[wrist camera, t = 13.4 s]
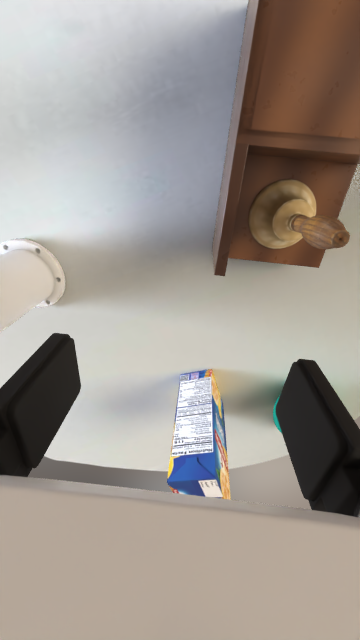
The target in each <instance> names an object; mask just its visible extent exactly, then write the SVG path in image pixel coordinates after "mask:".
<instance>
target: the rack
mask: <svg viewBox="0 0 360 640" xmlns="http://www.w3.org/2000/svg"><path fill="white" fill-rule="evenodd" d="M357 164H360V0H249V2H248V6H247V13H246V20H245V27H244V34H243V40H242V47H241V54H240V61H239V68H238V74H237V81H236V88H235V95H234V102H233V108H232V115H231V122H230V129H229V136H228V143H227V149H226V156H225V163H224V170H223V177H222V183H221V190H220V197H219V204H218V211H217V217H216V224H215V231H214V238H213V245H212V253H213V264H214V275H220V276H225V272H226V267H227V261H228V258H234V259H243V260H252V261H261V262H271V263H280V264H289V265H298V266H307V267H317V268H319V266H320V263H321V261H322V258H323V255H324V253H325V250H326V249H318V248H315V247H313V246H311V245H310V244H308V243H307V242H306V241H305V240H304V238H302V239H301V240H299V241H298V242H297V243H295V244H293V245H291V246H289V247H286V248H281V249H272V248H268V247H265V246H263V245H261V244H260V243H258V242H257V241H256V240H255V239H254V237H253V236H252V234H251V231H250V228H249V222H248V219H249V212H250V208H251V206H252V203H253V201H254V200H255V198H256V197H257V195H258V194H259V193H260V192H261V191H262V190H263V189H264V188H265V187H267V186H268V185H270V184H271V183H274V182H276V181H279V180H284V179H293V180H298V181H300V182H302V183H304V184H305V185H307V186H308V187H309V188H310V190H311V191H312V193H313V195H314V197H315V200H316V215H315V216H318V215H327V216H331V217H334V218H336V219H337V218H338V215H339V212H340V210H341V207H342V204H343V202H344V199H345V196H346V194H347V191H348V188H349V186H350V183H351V180H352V178H353V175H354V172H355V170H356V167H357Z"/></svg>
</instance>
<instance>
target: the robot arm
mask: <svg viewBox="0 0 360 640" xmlns="http://www.w3.org/2000/svg"><path fill="white" fill-rule="evenodd" d="M65 284H66V282H65V275H64V272H63V269H62V267H61V265H60V263H59V262H58V260H57V259H56V258H55V256H54V255H53V254H52V253H51V252H50V251H48V250H47V249H46V248H45V247H43V246H42V245H40V244H38V243H36V242H34V241H31V240H27V239H12V240H9V241H6V242H4V243H2V244H1V245H0V333H1V332H2V331H3V330H5V329H6V328H7V327H9V326H10V325H11V324H13V323H14V322H15V321H17V320H18V319H19V318H21V317H22V316H24V315H25V314H26V313H28V312H29V311H30V310H32V309H33V308H34V307H35V308H43V307H48V306H51V305H53V304H54V303H56V302H57V301H58V300H59V299H60V298H61V297H62V295H63V293H64V290H65ZM80 388H81V383H80V377H79V370H78V364H77V357H76V351H75V344H74V340H73V338H70V336H69V335H68V334H60V333H53V334H52V335H51V336H50V337H49V338H48V339H47V340H46V341H45V342H44V343H43V344H42V346H41V347H40V348H39V349H38V350H37V351H36V352H35V353H34V354H33V355H32V356H31V357H30V358H29V359H28V360H27V361H26V362H25V363H24V364H23V365H22V366H21V367H20V368H19V370H18V371H17V372H16V373H15V374H14V375H13V376H12V377H11V378H10V379H9V380H8V381H7V382H6V383H5V384H4V385H3V386H2V387H1V388H0V640H360V429H359V428H358V426H357V424H356V423H355V421H354V420H353V418H352V417H351V415H350V414H349V412H348V411H347V409H346V408H345V406H344V405H343V403H342V401H341V400H340V398H339V397H338V395H337V394H336V392H335V391H334V389H333V388H332V386H331V385H330V383H329V382H328V380H327V378H326V377H325V375H324V374H323V372H322V371H321V369H320V368H319V366H318V365H317V363H316V362H315V361H313V360H305V359H299V360H298V361H297V362H294V363H293V364H292V366H291V369H290V372H289V374H288V377H287V379H286V382H285V384H284V387H283V390H282V392H281V395H280V397H279V400H278V402H277V405H276V416H277V419H278V422H279V425H280V428H281V431H282V434H283V437H284V440H285V443H286V446H287V449H288V452H289V455H290V458H291V461H292V464H293V467H294V470H295V473H296V476H297V479H298V482H299V485H300V488H301V491H302V494H303V496H304V498H305V499H308V500H309V503H310V506H311V509H312V510H308V509H301V508H293V507H286V506H278V505H270V504H261V503H254V502H245V501H237V500H229V499H221V498H212V497H204V496H195V495H186V494H178V493H169V492H160V491H151V490H143V489H134V488H125V487H116V486H107V485H98V484H89V483H80V482H71V481H62V480H52V479H41V478H30V477H28V475H29V473H30V471H31V470H32V468H36V467H37V466H38V464H39V463H40V461H41V459H42V458H43V456H44V454H45V453H46V451H47V449H48V447H49V445H50V444H51V442H52V440H53V438H54V437H55V435H56V433H57V431H58V430H59V428H60V426H61V424H62V422H63V421H64V419H65V417H66V415H67V414H68V412H69V410H70V408H71V406H72V405H73V403H74V401H75V399H76V398H77V396H78V394H79V392H80Z"/></svg>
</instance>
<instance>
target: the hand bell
mask: <svg viewBox="0 0 360 640" xmlns="http://www.w3.org/2000/svg"><path fill="white" fill-rule="evenodd" d="M315 215H316V200H315V197H314V195H313V193H312V191H311V190H310V188H309V187H308V186H307V185H305V184H304V183H302V182H300V181H298V180H293V179H284V180H279V181H276V182H274V183H271V184H270V185H268V186H267V187H265V188H264V189H263V190H262V191H261V192H260V193H259V194H258V195H257V197H256V198H255V200H254V201H253V203H252V206H251V208H250V212H249V219H248V222H249V228H250V231H251V234H252V236H253V237H254V239H255V240H256V241H257V242H258V243H260V244H261V245H263V246H265V247H268V248H272V249H281V248H286V247H289V246H291V245H293V244H295V243H297V242H298V241H299V240H301V239H302V238H304V240H305V241H306V242H307V243H308V244H310V245H311V246H313V247H315V248H318V249H331V248H340V247H343V246H345V245H346V244H347V243H348V241H349V238H350V234H349V232H347V231H346V229H345V227H344V225H343V224H342V223H341V222H340V221H339V220H338V219H336V218H334V217H331V216H327V215H318V216H315Z"/></svg>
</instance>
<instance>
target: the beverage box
mask: <svg viewBox="0 0 360 640" xmlns="http://www.w3.org/2000/svg"><path fill="white" fill-rule="evenodd" d="M167 483H168V485H169V487H170V488H171V490H172V492H173V493H178V494H186V495H195V496H204V497H212V498H221V499H229V500H231V498H230V486H229V473H228V460H227V447H226V435H225V422H224V409H223V402H222V399H221V396H220V393H219V390H218V387H217V384H216V381H215V377H214V374H213V371H212V369H208V370H202V371H197V372H191V373H186V374H181V376H180V384H179V392H178V400H177V408H176V416H175V423H174V431H173V439H172V447H171V455H170V463H169V471H168V479H167Z"/></svg>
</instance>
